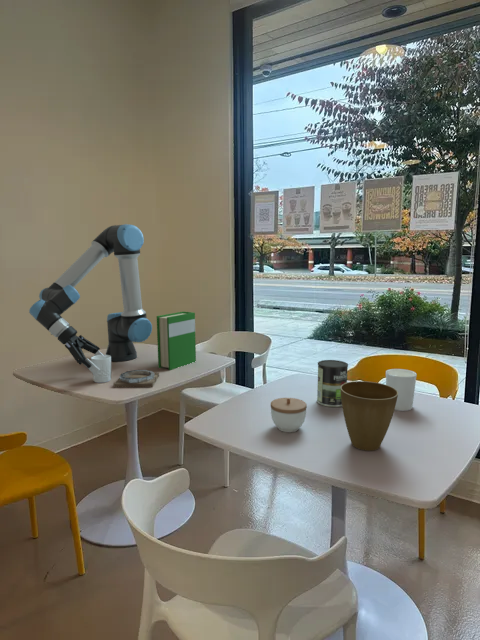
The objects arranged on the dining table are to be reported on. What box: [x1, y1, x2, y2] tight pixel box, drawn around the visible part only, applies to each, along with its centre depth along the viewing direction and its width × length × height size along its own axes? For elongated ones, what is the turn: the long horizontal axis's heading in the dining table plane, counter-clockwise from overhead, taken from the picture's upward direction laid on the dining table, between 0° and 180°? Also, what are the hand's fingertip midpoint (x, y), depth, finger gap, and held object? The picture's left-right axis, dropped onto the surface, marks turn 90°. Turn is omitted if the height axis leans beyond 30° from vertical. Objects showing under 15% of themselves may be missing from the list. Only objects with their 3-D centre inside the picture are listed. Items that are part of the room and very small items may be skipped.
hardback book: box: [156, 311, 197, 371], centre depth 200 cm, size 18×7×24 cm, turn 145°
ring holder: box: [113, 369, 160, 388], centre depth 176 cm, size 15×15×3 cm
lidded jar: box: [270, 397, 308, 433], centre depth 129 cm, size 11×11×9 cm
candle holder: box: [385, 368, 418, 412], centre depth 146 cm, size 10×10×12 cm
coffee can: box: [316, 359, 349, 408], centre depth 150 cm, size 10×10×14 cm
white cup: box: [90, 354, 112, 384], centre depth 177 cm, size 8×8×10 cm
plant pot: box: [340, 380, 398, 452], centre depth 117 cm, size 15×15×16 cm
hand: (102, 367), depth 177 cm, fingers open, 13 cm apart
